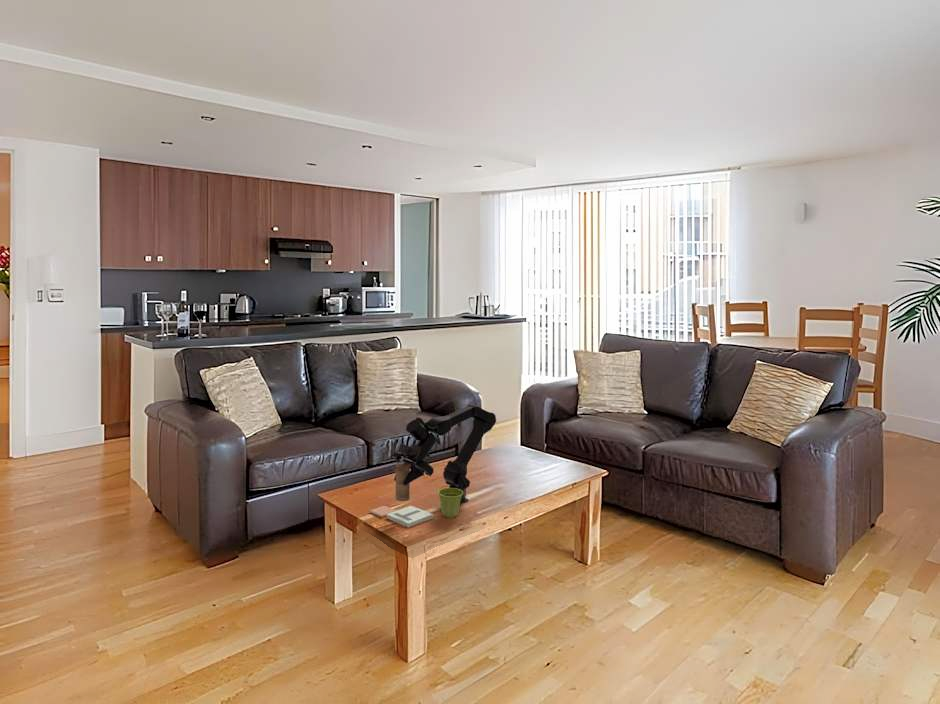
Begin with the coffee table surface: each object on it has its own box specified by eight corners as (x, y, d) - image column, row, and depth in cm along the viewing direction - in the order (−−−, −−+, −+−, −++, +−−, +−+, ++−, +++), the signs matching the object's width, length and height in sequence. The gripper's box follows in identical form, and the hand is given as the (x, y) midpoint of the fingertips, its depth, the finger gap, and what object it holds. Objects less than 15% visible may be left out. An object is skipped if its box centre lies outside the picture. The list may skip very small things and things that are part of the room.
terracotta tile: (384, 507, 243) (384, 505, 242) (396, 512, 238) (396, 510, 238) (369, 512, 237) (369, 510, 237) (381, 517, 233) (381, 515, 233)
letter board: (411, 509, 241) (411, 505, 241) (433, 518, 233) (433, 514, 233) (386, 518, 232) (386, 514, 232) (408, 527, 224) (408, 523, 224)
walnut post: (403, 495, 235) (403, 461, 234) (412, 499, 232) (412, 464, 230) (392, 498, 232) (392, 463, 230) (401, 502, 228) (401, 467, 227)
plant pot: (462, 509, 242) (463, 487, 241) (463, 519, 232) (463, 496, 231) (438, 509, 241) (438, 487, 240) (437, 519, 232) (437, 496, 231)
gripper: (396, 430, 238) (371, 464, 232) (427, 440, 225) (402, 477, 219) (412, 446, 245) (389, 480, 239) (444, 457, 231) (420, 494, 225)
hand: (399, 482), depth 230 cm, fingers closed on walnut post, 5 cm apart
